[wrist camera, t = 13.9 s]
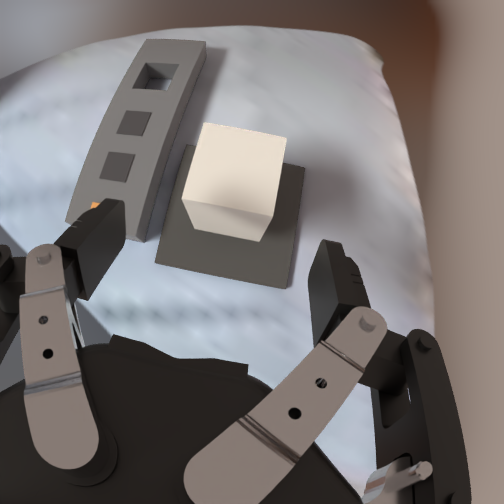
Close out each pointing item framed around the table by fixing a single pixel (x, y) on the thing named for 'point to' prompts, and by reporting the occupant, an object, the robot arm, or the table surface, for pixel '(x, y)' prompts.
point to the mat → (228, 247)
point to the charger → (234, 181)
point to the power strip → (139, 133)
